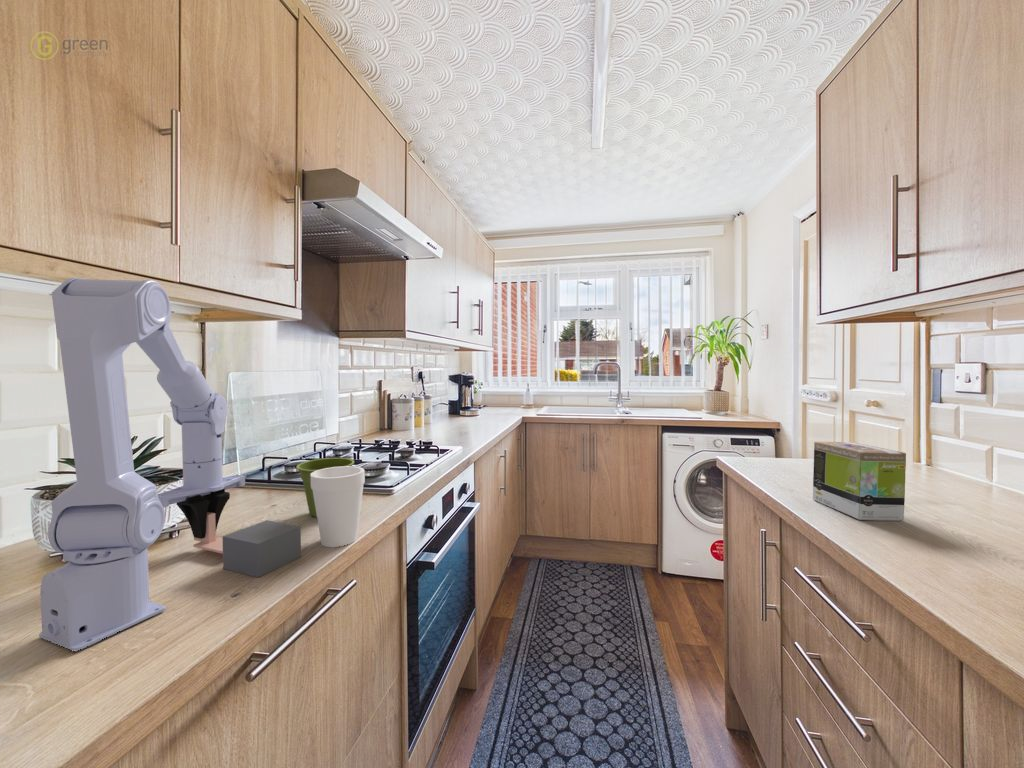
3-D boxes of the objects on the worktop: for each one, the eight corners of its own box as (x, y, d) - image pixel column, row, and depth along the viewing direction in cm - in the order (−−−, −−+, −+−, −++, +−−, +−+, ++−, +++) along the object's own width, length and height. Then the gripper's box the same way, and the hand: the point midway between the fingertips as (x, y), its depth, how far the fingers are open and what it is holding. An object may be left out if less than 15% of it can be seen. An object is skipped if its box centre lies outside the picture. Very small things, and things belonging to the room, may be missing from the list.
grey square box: (258, 577, 67) (257, 543, 67) (223, 568, 70) (222, 536, 70) (301, 556, 74) (300, 526, 74) (267, 549, 77) (266, 520, 77)
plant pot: (292, 511, 98) (291, 462, 97) (346, 501, 105) (345, 455, 105) (304, 526, 88) (303, 472, 88) (362, 514, 96) (361, 464, 95)
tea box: (906, 521, 91) (908, 452, 91) (858, 521, 92) (860, 452, 91) (852, 500, 106) (853, 440, 106) (810, 499, 107) (812, 440, 106)
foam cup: (306, 553, 76) (304, 479, 75) (317, 533, 85) (315, 467, 84) (363, 547, 78) (362, 476, 78) (367, 528, 87) (366, 464, 86)
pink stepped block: (226, 554, 72) (226, 522, 72) (185, 545, 76) (184, 514, 76) (249, 545, 76) (248, 515, 76) (208, 536, 80) (208, 508, 80)
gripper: (173, 470, 69) (176, 555, 69) (256, 453, 82) (257, 524, 83) (145, 467, 71) (147, 548, 72) (229, 451, 85) (231, 519, 85)
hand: (204, 535), depth 77 cm, fingers closed on pink stepped block
